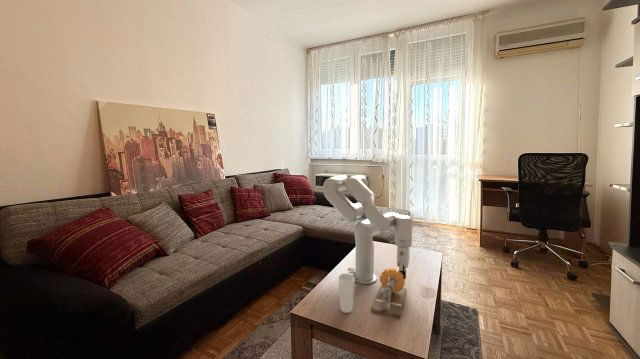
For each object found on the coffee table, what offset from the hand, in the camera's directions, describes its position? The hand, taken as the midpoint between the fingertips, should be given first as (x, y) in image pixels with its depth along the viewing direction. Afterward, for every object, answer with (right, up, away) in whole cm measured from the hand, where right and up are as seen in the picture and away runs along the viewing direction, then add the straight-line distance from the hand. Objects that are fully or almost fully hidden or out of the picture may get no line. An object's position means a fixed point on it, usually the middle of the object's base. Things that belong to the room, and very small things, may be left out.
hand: (402, 278), depth 133 cm
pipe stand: (-8, -8, -7) cm, 13 cm away
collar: (-6, -5, -3) cm, 8 cm away
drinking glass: (-28, -9, -13) cm, 32 cm away
